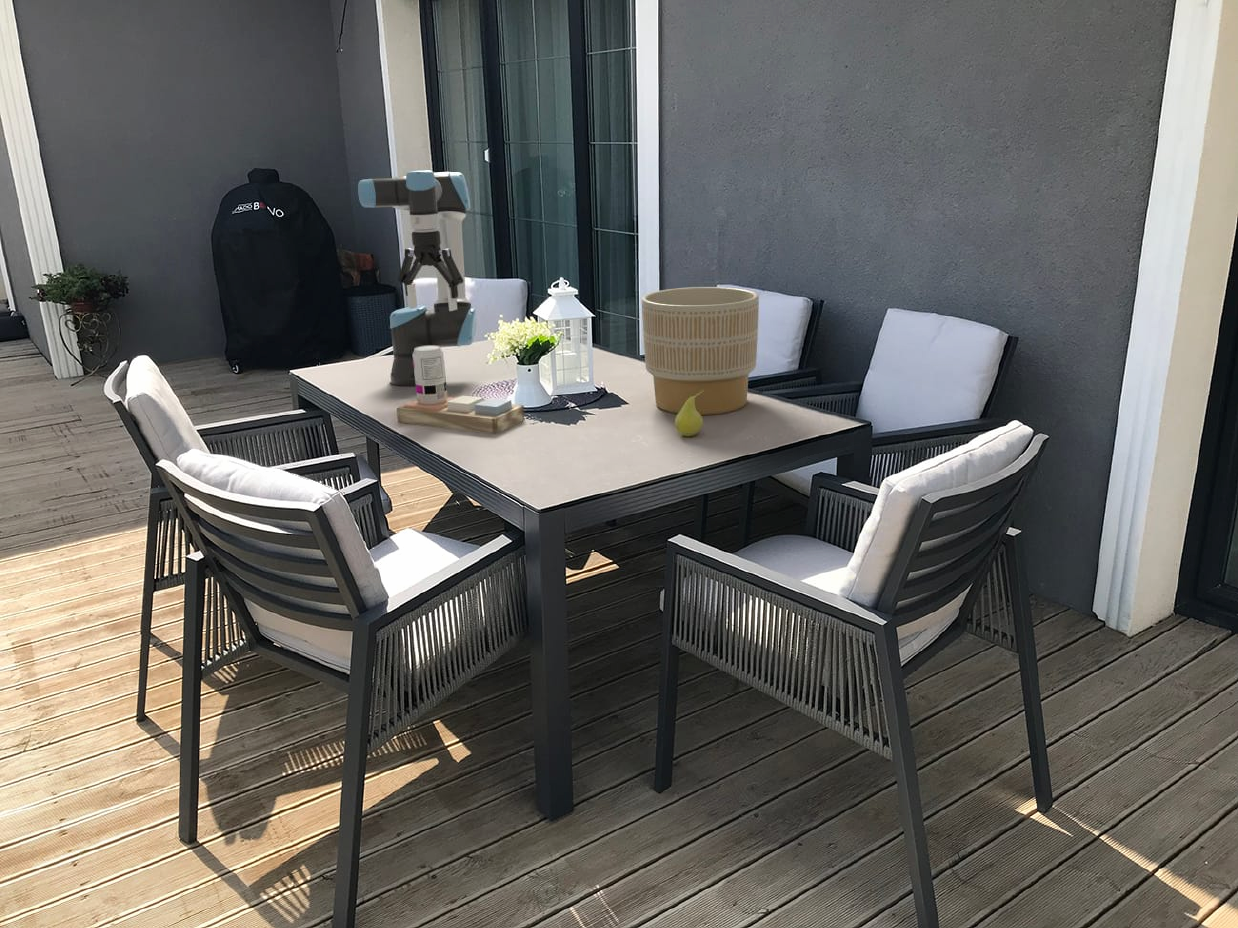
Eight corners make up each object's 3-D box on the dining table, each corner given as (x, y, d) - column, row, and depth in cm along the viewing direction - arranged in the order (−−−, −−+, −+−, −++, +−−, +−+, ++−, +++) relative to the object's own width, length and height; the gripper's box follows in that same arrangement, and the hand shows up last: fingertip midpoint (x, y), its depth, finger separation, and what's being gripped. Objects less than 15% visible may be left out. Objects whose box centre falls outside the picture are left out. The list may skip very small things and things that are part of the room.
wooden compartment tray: (429, 409, 285) (427, 395, 283) (524, 419, 271) (523, 405, 269) (398, 422, 273) (396, 408, 272) (495, 433, 259) (494, 419, 258)
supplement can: (412, 404, 272) (406, 350, 267) (427, 397, 279) (422, 344, 274) (438, 406, 269) (432, 351, 264) (453, 398, 276) (448, 345, 272)
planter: (655, 388, 297) (652, 287, 288) (761, 390, 291) (762, 286, 281) (635, 418, 268) (631, 306, 259) (753, 420, 262) (754, 305, 252)
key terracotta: (430, 410, 283) (428, 395, 281) (462, 414, 278) (460, 398, 276) (405, 420, 273) (404, 404, 272) (438, 424, 269) (436, 408, 267)
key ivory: (463, 411, 275) (462, 395, 273) (484, 413, 272) (483, 397, 270) (448, 417, 269) (446, 401, 267) (469, 420, 266) (468, 404, 264)
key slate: (490, 414, 271) (489, 398, 269) (512, 416, 268) (511, 400, 266) (476, 421, 265) (474, 404, 264) (498, 423, 262) (496, 406, 260)
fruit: (675, 432, 255) (674, 386, 251) (704, 431, 254) (704, 385, 250) (675, 439, 248) (674, 393, 244) (706, 439, 248) (705, 392, 244)
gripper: (379, 231, 270) (388, 309, 277) (455, 232, 259) (462, 313, 266) (397, 228, 276) (405, 304, 283) (471, 229, 265) (478, 308, 272)
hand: (433, 309), depth 275 cm, fingers open, 13 cm apart
